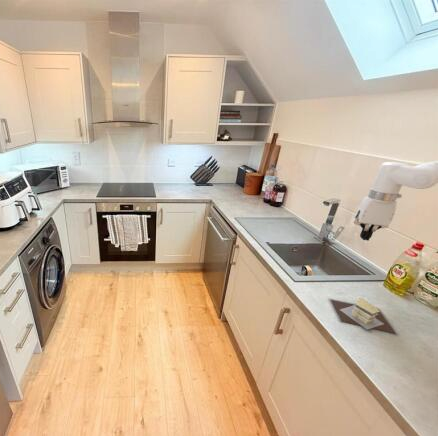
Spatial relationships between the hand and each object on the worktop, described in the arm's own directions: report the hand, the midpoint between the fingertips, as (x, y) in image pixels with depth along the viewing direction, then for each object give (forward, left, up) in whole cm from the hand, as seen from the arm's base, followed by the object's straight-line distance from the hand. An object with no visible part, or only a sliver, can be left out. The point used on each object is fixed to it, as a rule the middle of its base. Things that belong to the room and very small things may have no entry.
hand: (364, 238), depth 96 cm
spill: (0, +17, -25) cm, 30 cm away
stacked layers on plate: (0, +18, -25) cm, 31 cm away
